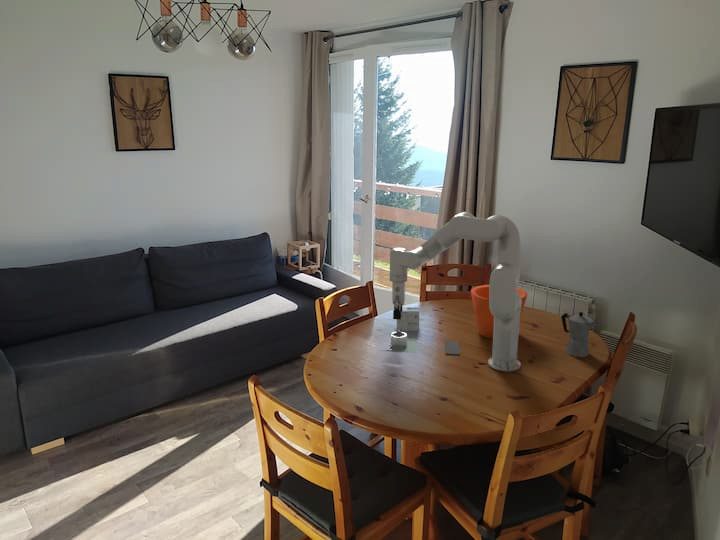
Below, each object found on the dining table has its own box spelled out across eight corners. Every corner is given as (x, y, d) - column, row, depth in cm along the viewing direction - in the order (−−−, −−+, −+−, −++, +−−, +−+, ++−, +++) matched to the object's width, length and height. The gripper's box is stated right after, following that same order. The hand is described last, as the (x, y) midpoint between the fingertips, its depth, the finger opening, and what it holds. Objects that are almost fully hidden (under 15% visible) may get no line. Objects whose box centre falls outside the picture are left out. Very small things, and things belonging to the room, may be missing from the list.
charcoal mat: (459, 355, 215) (459, 354, 215) (426, 353, 217) (426, 352, 217) (458, 342, 229) (458, 341, 229) (426, 341, 231) (426, 340, 231)
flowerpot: (531, 343, 226) (534, 300, 221) (474, 343, 227) (476, 301, 222) (516, 323, 250) (518, 284, 246) (464, 324, 251) (466, 285, 246)
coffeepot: (598, 355, 212) (602, 314, 208) (585, 361, 207) (589, 318, 203) (566, 343, 225) (569, 304, 220) (552, 348, 220) (555, 308, 215)
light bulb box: (419, 327, 247) (419, 306, 244) (419, 333, 241) (419, 311, 238) (396, 327, 248) (396, 306, 246) (396, 332, 242) (396, 310, 239)
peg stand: (416, 354, 217) (416, 338, 215) (378, 352, 219) (378, 337, 217) (417, 340, 232) (417, 325, 230) (382, 338, 234) (382, 324, 233)
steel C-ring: (406, 347, 222) (406, 337, 220) (390, 346, 223) (390, 337, 221) (407, 341, 228) (407, 331, 227) (391, 340, 229) (391, 331, 228)
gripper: (406, 283, 209) (405, 322, 214) (408, 272, 226) (407, 309, 230) (387, 282, 210) (387, 321, 215) (391, 271, 227) (390, 308, 231)
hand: (397, 315), depth 222 cm, fingers open, 9 cm apart
